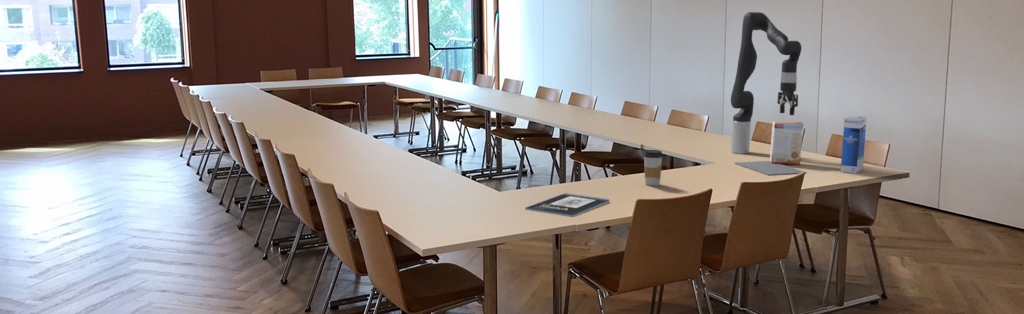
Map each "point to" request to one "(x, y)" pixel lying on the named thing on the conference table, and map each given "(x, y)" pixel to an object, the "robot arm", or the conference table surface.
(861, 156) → the blue cardboard box
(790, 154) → the cracker box
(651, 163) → the coffee cup
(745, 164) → the mat
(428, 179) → the conference table surface
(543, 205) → the sketchbook
